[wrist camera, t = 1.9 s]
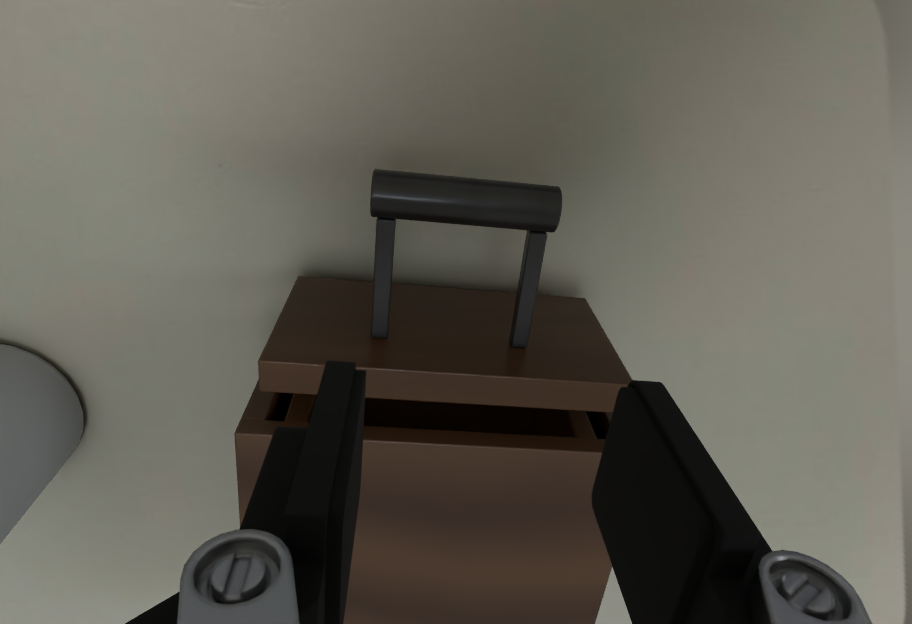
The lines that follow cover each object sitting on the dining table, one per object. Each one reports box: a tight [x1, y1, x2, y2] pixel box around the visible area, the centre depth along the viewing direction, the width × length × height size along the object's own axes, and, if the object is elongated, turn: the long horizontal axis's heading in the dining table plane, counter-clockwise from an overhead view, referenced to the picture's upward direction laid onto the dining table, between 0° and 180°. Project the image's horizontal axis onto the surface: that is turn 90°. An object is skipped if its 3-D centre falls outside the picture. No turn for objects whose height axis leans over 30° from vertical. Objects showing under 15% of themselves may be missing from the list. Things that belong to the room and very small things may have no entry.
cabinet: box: [235, 380, 612, 624], centre depth 27 cm, size 16×14×9 cm
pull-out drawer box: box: [258, 169, 632, 439], centre depth 25 cm, size 20×12×7 cm, turn 174°
